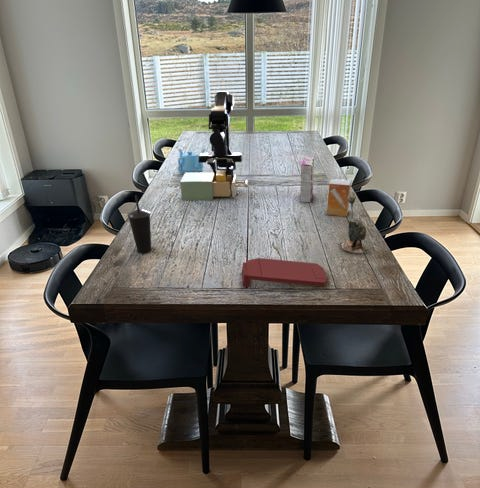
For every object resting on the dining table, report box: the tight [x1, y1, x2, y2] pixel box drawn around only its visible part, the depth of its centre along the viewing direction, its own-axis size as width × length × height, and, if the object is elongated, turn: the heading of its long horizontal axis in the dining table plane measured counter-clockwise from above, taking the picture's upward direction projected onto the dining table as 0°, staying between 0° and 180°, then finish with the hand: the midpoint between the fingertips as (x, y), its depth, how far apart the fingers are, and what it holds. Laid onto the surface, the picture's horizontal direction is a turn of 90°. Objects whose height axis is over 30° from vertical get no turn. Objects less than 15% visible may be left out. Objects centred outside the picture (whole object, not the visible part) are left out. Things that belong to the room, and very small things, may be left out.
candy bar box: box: [299, 157, 315, 203], centre depth 195 cm, size 11×5×16 cm, turn 168°
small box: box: [326, 178, 353, 217], centre depth 180 cm, size 8×6×13 cm
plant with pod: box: [339, 191, 367, 255], centre depth 149 cm, size 8×11×20 cm
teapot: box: [176, 148, 206, 174], centre depth 238 cm, size 15×15×10 cm
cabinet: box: [179, 171, 215, 201], centre depth 205 cm, size 14×13×8 cm
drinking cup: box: [126, 194, 152, 254], centre depth 153 cm, size 8×8×20 cm
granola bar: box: [216, 169, 226, 182], centre depth 202 cm, size 4×8×3 cm, turn 177°
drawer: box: [212, 173, 249, 198], centre depth 204 cm, size 18×12×7 cm, turn 87°
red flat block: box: [240, 257, 328, 288], centre depth 138 cm, size 12×5×25 cm
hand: (221, 176), depth 202 cm, fingers closed on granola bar, 4 cm apart
